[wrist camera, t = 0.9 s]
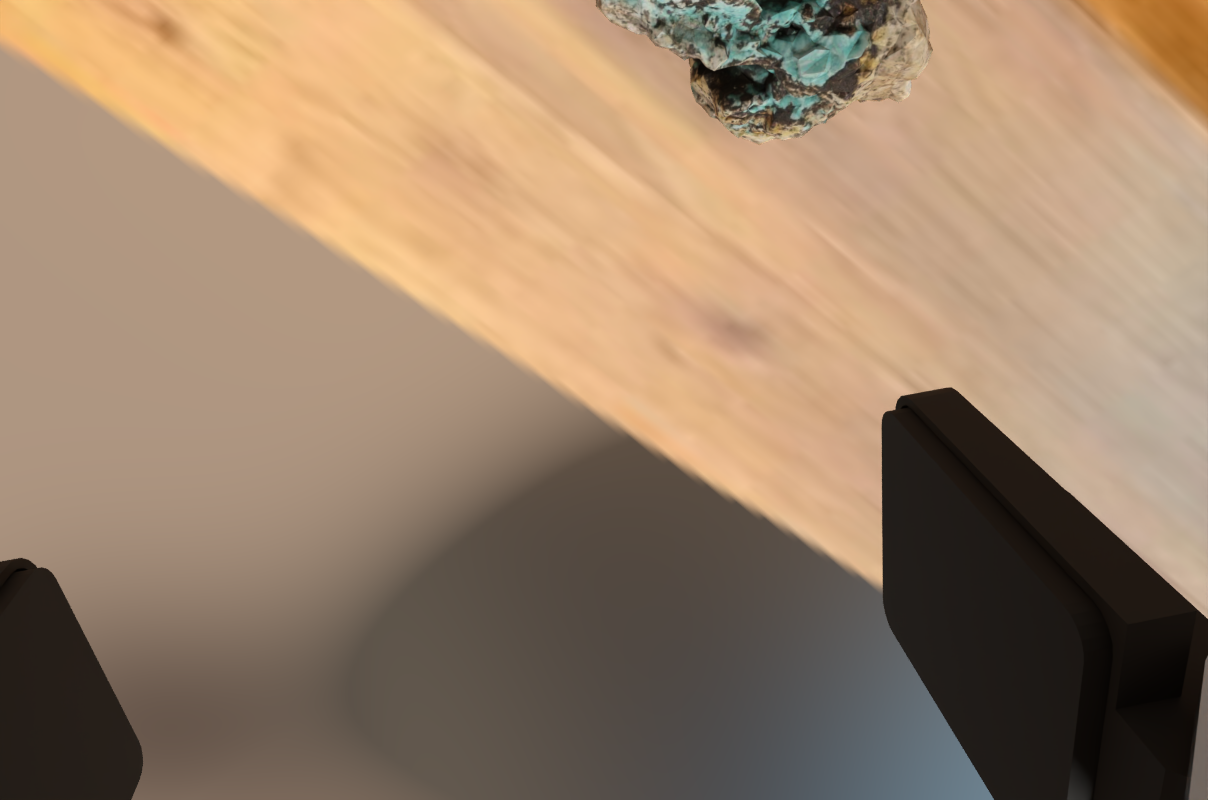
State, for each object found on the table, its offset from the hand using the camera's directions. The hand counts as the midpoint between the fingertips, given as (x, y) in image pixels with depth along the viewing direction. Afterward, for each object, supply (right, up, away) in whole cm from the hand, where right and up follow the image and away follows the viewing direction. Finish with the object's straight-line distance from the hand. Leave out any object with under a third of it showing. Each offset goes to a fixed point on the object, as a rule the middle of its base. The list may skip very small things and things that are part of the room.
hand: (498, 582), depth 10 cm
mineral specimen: (+6, +17, +22) cm, 29 cm away
